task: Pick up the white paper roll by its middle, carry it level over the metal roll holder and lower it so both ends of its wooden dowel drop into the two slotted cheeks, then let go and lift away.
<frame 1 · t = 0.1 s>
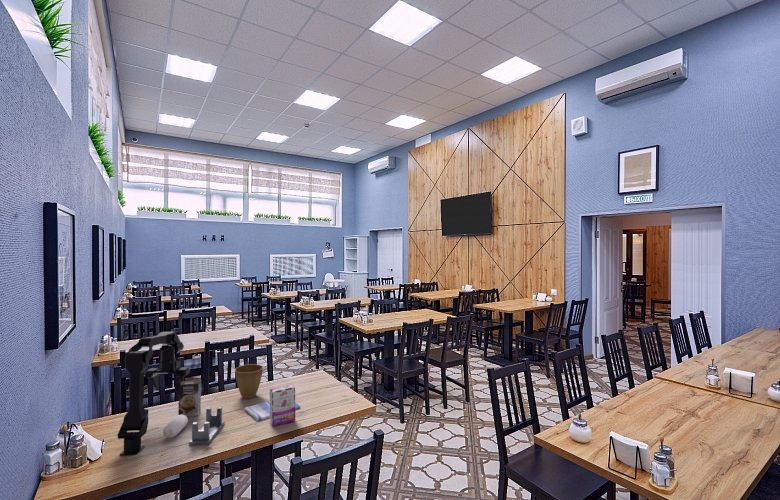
hand: (167, 389, 180), 15 cm above the table, tool pointing down, fingers open, 9 cm apart
candy bar box: (282, 422, 178), on the table
paper roll: (175, 425, 167), point 3 cm above the table
roll holder: (207, 434, 166), on the table
plant pot: (248, 396, 209), on the table
dish towel: (272, 411, 192), on the table
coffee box: (189, 414, 186), on the table
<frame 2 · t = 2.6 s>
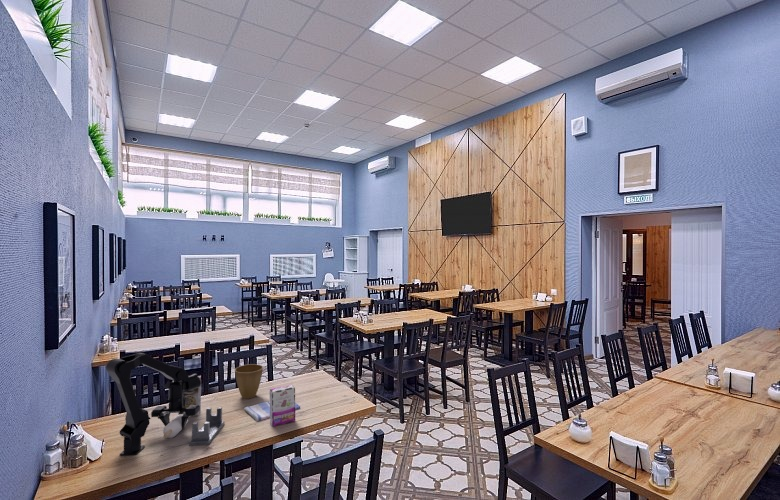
hand: (175, 429, 167), 1 cm above the table, tool pointing down, fingers closed on paper roll, 6 cm apart
paper roll: (175, 425, 167), point 3 cm above the table, touching gripper
everything else where it was.
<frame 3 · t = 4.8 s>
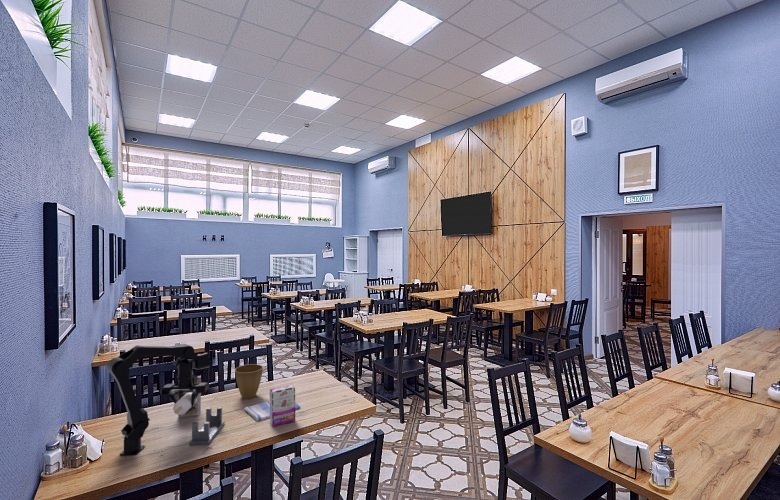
hand: (185, 407, 167), 11 cm above the table, tool pointing down, fingers closed on paper roll, 6 cm apart
paper roll: (185, 403, 167), point 13 cm above the table, touching gripper
everything else where it was.
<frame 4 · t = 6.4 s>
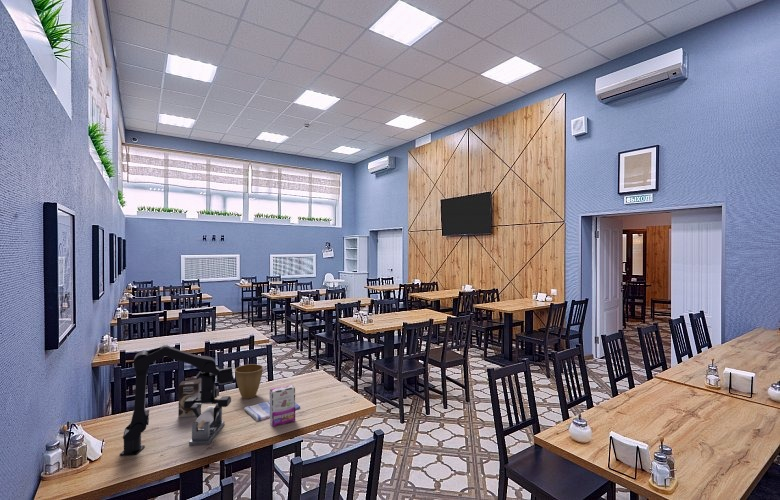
hand: (207, 421, 166), 6 cm above the table, tool pointing down, fingers closed on paper roll, 6 cm apart
paper roll: (207, 417, 166), point 8 cm above the table, touching gripper
everything else where it was.
when the fingers open (5 cm above the table, at t = 7.4 s): paper roll stays where it is, resting on roll holder.
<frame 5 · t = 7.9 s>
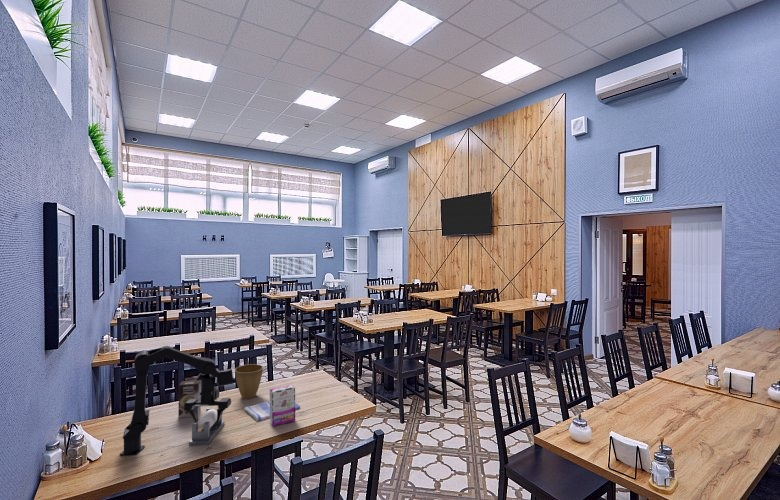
hand: (207, 422, 166), 5 cm above the table, tool pointing down, fingers open, 9 cm apart
paper roll: (207, 420, 166), point 6 cm above the table, touching roll holder
everything else where it was.
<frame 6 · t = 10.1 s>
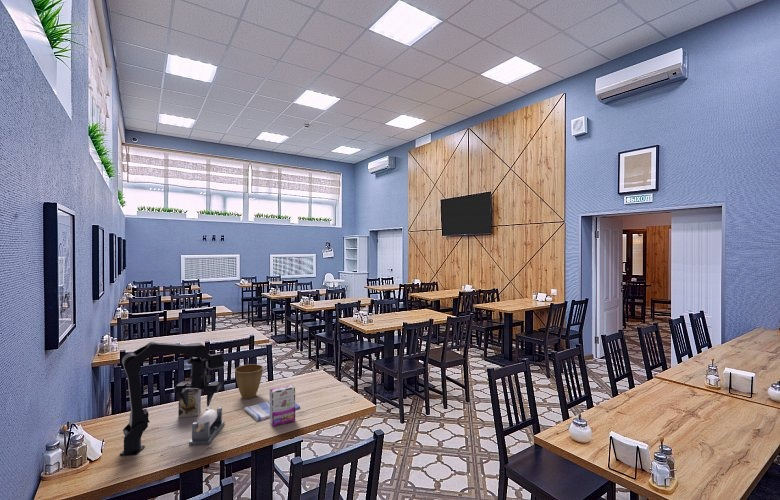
hand: (197, 406, 168), 12 cm above the table, tool pointing down, fingers open, 9 cm apart
paper roll: (206, 420, 166), point 6 cm above the table, tilted 48°, touching roll holder
everything else where it was.
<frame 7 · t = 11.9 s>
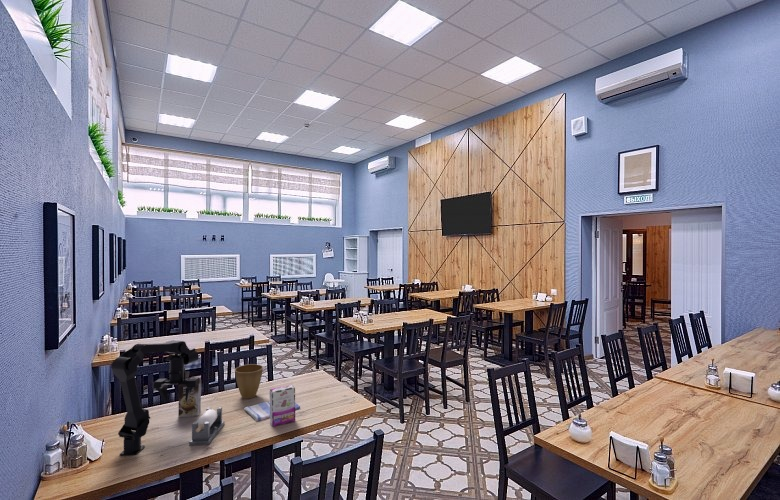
hand: (176, 401, 172), 12 cm above the table, tool pointing down, fingers open, 9 cm apart
nothing on the table moved.
at the end: paper roll 0.7 cm off-centre on the roll holder, point 6.0 cm above the roll holder's base; paper roll touching roll holder; the gripper is holding nothing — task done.
